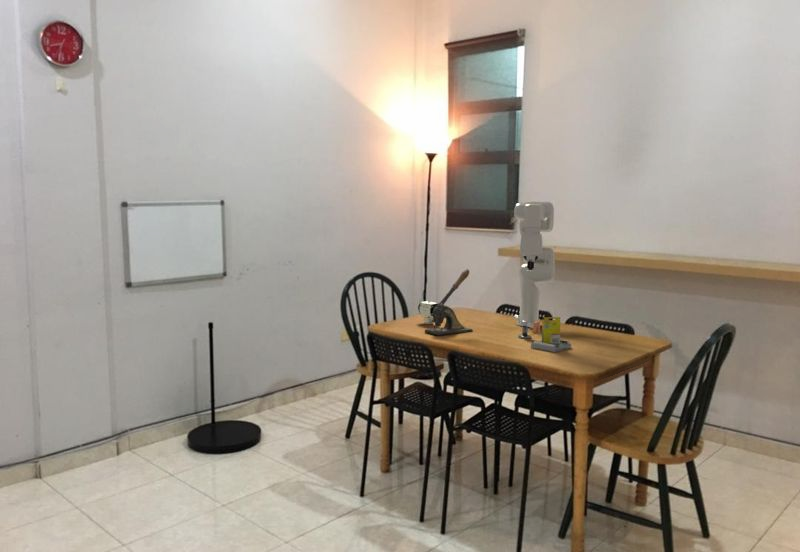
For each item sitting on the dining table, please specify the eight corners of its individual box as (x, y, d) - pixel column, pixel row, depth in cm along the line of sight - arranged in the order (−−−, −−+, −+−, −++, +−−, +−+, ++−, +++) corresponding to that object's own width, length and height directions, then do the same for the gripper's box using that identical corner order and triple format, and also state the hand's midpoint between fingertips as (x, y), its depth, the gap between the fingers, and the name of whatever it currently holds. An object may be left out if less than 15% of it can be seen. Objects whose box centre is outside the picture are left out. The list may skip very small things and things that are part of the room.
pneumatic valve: (423, 321, 342) (424, 298, 340) (440, 324, 333) (440, 301, 332) (416, 322, 338) (416, 299, 337) (432, 326, 330) (432, 302, 328)
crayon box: (558, 342, 285) (559, 316, 284) (560, 343, 283) (561, 317, 281) (541, 342, 285) (542, 315, 284) (542, 343, 283) (544, 317, 281)
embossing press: (423, 332, 314) (424, 270, 310) (461, 327, 327) (463, 268, 323) (436, 336, 304) (437, 272, 301) (475, 331, 318) (477, 270, 314)
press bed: (530, 347, 283) (531, 341, 283) (546, 343, 293) (547, 336, 292) (555, 352, 275) (555, 345, 275) (571, 347, 284) (571, 341, 284)
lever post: (515, 337, 305) (516, 325, 304) (522, 335, 309) (523, 324, 308) (526, 339, 301) (527, 327, 300) (533, 337, 305) (534, 325, 304)
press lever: (533, 333, 292) (533, 322, 291) (518, 327, 306) (518, 317, 305) (542, 333, 293) (542, 322, 292) (527, 327, 307) (527, 316, 306)
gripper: (515, 230, 303) (513, 270, 305) (548, 231, 299) (546, 271, 301) (516, 230, 310) (514, 268, 312) (548, 230, 307) (547, 269, 309)
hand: (530, 269), depth 307 cm, fingers closed
